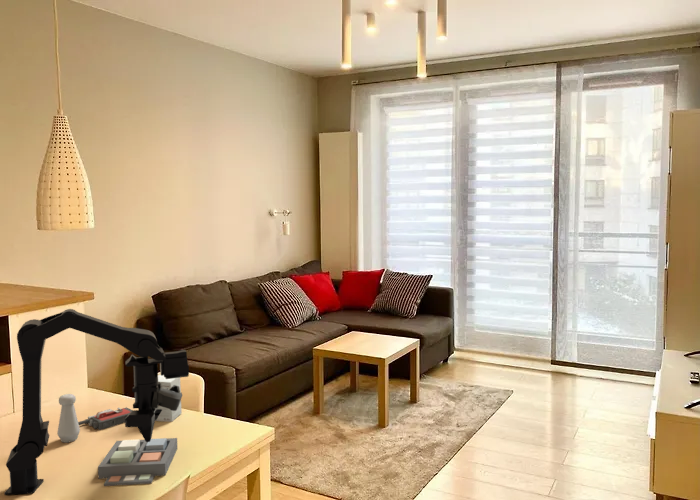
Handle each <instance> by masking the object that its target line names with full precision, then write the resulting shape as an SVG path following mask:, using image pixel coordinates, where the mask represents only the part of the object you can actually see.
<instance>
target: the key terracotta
mask: <svg viewBox="0 0 700 500" xmlns="http://www.w3.org/2000/svg"><path fill="white" fill-rule="evenodd" d="M155 461H161V452H157V453H143V455H142V457H141V459H140V460H139V462H155Z"/></svg>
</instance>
